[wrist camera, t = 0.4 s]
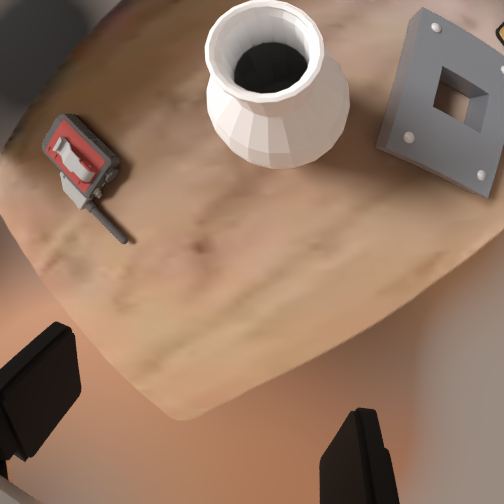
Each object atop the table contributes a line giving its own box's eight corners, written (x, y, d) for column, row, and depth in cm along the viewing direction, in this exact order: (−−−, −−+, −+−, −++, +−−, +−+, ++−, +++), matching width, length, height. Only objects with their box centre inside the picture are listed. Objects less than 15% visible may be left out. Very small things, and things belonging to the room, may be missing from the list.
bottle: (347, 94, 32) (441, 7, 8) (307, 179, 36) (338, 241, 12) (257, 55, 32) (197, -77, 8) (219, 140, 36) (90, 133, 12)
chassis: (409, 20, 28) (423, 6, 23) (498, 71, 28) (518, 66, 23) (374, 147, 34) (386, 147, 29) (468, 192, 34) (488, 198, 29)
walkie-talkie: (42, 155, 39) (127, 245, 42) (22, 157, 35) (111, 256, 38) (70, 106, 37) (164, 197, 39) (50, 105, 32) (149, 204, 35)
